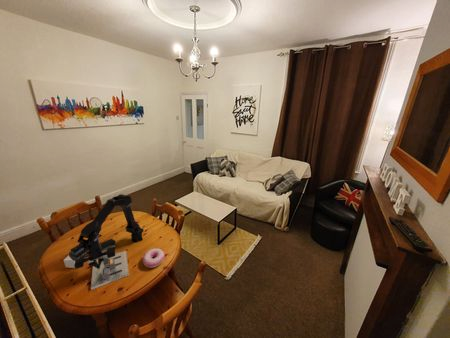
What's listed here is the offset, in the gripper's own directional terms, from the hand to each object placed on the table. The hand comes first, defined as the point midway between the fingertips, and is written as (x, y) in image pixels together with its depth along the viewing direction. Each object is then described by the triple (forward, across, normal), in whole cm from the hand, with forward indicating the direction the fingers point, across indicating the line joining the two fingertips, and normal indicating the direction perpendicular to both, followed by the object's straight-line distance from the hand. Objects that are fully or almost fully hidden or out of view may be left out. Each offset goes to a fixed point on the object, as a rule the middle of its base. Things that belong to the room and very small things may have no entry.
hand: (98, 268), depth 105 cm
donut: (+4, -29, +6) cm, 30 cm away
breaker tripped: (+2, -6, 0) cm, 7 cm away
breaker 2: (+2, -3, +6) cm, 7 cm away
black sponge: (+4, 0, -20) cm, 21 cm away
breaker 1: (+2, -4, -6) cm, 7 cm away
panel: (+4, -6, 0) cm, 7 cm away
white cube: (+4, +14, -15) cm, 21 cm away
